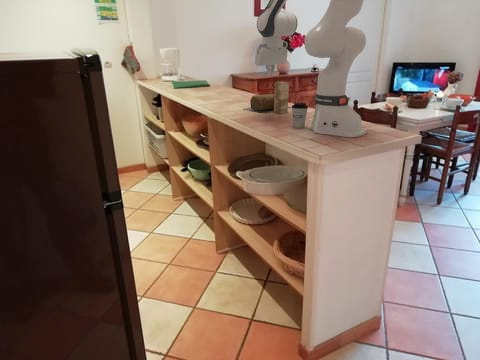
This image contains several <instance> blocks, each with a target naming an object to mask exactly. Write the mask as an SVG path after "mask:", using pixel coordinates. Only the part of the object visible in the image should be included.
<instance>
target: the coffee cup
mask: <svg viewBox="0 0 480 360" xmlns="http://www.w3.org/2000/svg"><path fill="white" fill-rule="evenodd" d="M308 108H309V106H308V105H307V103H305V102H294V104H292V105H291V112H292V115H291V116H292V128H293V129H304V128H305V123H306V118H307V112H308Z"/></svg>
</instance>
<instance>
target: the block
mask: <svg viewBox="0 0 480 360" xmlns="http://www.w3.org/2000/svg"><path fill="white" fill-rule="evenodd" d="M249 101H250V102H249V104H250V107H251V108H252V109H254V110H274V93H269V94H268V93H267V94H266V93H265V94H254V95H252V96H251V98H250V99H249Z"/></svg>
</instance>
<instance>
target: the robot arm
mask: <svg viewBox="0 0 480 360" xmlns="http://www.w3.org/2000/svg"><path fill="white" fill-rule="evenodd" d="M287 1H288V0H269V1H268V3H267V4H266V6H265V7H264V9H263V10H262V12H261V13H260V14H259V16H258V17H257V20H256V29H257V32H258V33H259V34H260V35H261V36H262V37H261V38H262V40H261V43H259V44H258V45H257V46H256V51H255V55H254V64H255V66H258V67H263V66H265V68H266V69H265V70H266V71H267V75H268V76H271V75H272V76H273V75H274V74H275V70H276V66H277V65H282V64H283V65H285V64H286V62H287V57H288V50H287V48H288V42H287V41H285V40H283V39H282V37H290V36H292V35H294V33H296V31H297V28H298V18H297V16H296V14H295V13H293V12H289V11H288V10H286V9H285V8H283V7H284V5H285V4H286V2H287ZM364 1H365V0H330V2H329V4H328V7H327V8H326V11H325V13H324V15H323V16H322V18H321V19H320V21H318V23H317V24H316V25H315V26H314V27H312V28H311V29H310V30H309V31H308V32H307V33H306V35H305V38H304V48H305V51H306V53H307V54H308V55H309V56H311V57H314V58H319V59H328V58H329V60H328V62H327V64H326V66H325V67H324V68H323V69H321V70H320V72H319V73H318V76H317V86H316V93H315V98H314V114H313V118H312V121H311V124H310V128H309V129H310V130H312V132H313V133H315V134H321V135H322V134H323V135H328V136H335V137H336V136H337V137H344V138H357V137H361V136H363V135H365V134H367V133H368V131H367V129H366V128H363V127H362V117H361V115H360V114H358V113H357V111H356V110H354V109H353V108H352V107H351V105H349V101H351V98H352V97H351V96H349V97H348V96H347V95H346V89H347V82H348V76H349V72H350V69H351V66H352V65H353V63H354V61H355V60H356V59H357V57H358V56H359V55H360V54H361V53H362V52H363V51H364V49H365V46H366V42H367V37H366V34H365V32H364V31H363V30H362V29H359V28H356V27H353V26H347V25H348V24H349V22H351V20H352V19H353V18H355V17H356V16H357V15H359V14H360V13H361V10H362V7H363V4H364Z"/></svg>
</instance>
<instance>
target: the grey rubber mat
mask: <svg viewBox="0 0 480 360" xmlns="http://www.w3.org/2000/svg"><path fill="white" fill-rule="evenodd" d="M290 108H291V107H290V106H288V109H290ZM242 109H243V111H251V112H256V113H264V114H269V113H274V110H254V109H252V108H251V106H249V107H246V108H242Z"/></svg>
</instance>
